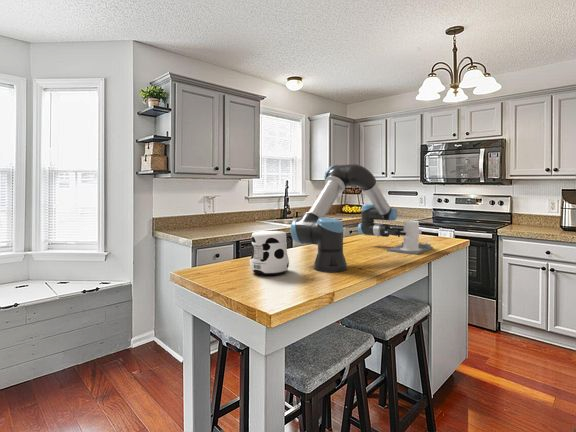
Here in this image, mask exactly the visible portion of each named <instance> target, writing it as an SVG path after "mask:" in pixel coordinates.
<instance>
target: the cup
mask: <svg viewBox="0 0 576 432" xmlns="http://www.w3.org/2000/svg"><path fill="white" fill-rule="evenodd" d="M403 228H404V231H409V232H412V237H409V236H403V249H406V250H418V245H419V242H420V241H419V235H420V234H419V229H420V221H418V220H403Z"/></svg>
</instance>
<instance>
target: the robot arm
mask: <svg viewBox="0 0 576 432" xmlns="http://www.w3.org/2000/svg"><path fill="white" fill-rule="evenodd" d="M324 183H325V185H324V186H323V188H322V190H321V192H319V195H318V196H317V198H316V199H315V200H314V202H313V203H312V205H311V207H310V208H309V210H308V211H307V212H304V213H303V214H302V215H301V217H300V218H296V219H293V221H292V222H291V224H290V235H291V239H293V241H294V242H295V243H299V244H307V245H316V246H317V254H316V257H315V260H314V263H313V265H314V266H313V269H314V270H315V271H318V272H323V273H340V272H344V271H346V270H347V269H348V263H347V261H346V257H345V254H344V223H343V222H342V221H341V220H340V219H337V218H333V217H327V215H328V213H329V211H330V209H331V208H332V206H333V205H334V203H335V201H336V200H337V198H338V196H339V194H341V193H342V192H343V193H344V191H345V190H346V188H347V187H358V188H359V189H360V190H361V191H363V192H364V194H365V195H366V196H367V198H368V200H369V201H370V202H371V203H365V204H362V205H361V211H360V212H361V222H359V224H358V225H357V232H358V234H360V235H364V236H374V237H376V238H379V237H385V238H387V237H389V236H395V237H398V238H401V237H404V236H409V237H412V232H409V231H404V227H391V226H390V225H389V224H387V223H385V224H384V223H375V221H396V220H397V218H398V216H399V215H398V209H397V208H395V207H391V206H390V205H389V203H388V202H387V199H386V198H385V197H384V195H383V193H382V191H381V189H380V188H379V186H378V184H377V179H376V177H375V175H374V174H373V173H372V172H371V171H370V170H369V169H367V168H366V167H365V166H362V165H360V164H358V163H352V164H335V165H331V166H328V167H327V169H326V170H325V172H324ZM419 235H422V229H421V228H419Z"/></svg>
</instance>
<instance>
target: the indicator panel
mask: <svg viewBox="0 0 576 432" xmlns="http://www.w3.org/2000/svg"><path fill="white" fill-rule="evenodd" d="M433 249H434V246H432V245H431V243H428V242H424V243H422V242H420V241H419V245H418V250H406V249H403V242H401V244H399V245H396V246H393V247H390V248H387V249H386V252H390V253H391V252H392V253H400V254H407V255H415V256H416V255H417V256H419V255H420V254H423V253H425V252H428V251H430V250H433Z"/></svg>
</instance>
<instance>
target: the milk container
mask: <svg viewBox="0 0 576 432" xmlns="http://www.w3.org/2000/svg"><path fill="white" fill-rule="evenodd" d="M287 243H288V242H287V232H286V231H282V230H280V231H279V230H260V231H254V232H252V234H251V256H250V260H249V264H250V266H249V267H250V270H251V272H253V273H254V274H257V275H261V276H262V275H263V276H271V275H272V276H276V275H280V274H283V273H285V272H287V271H288V269H289V266H290V259H289V255H288V250H287V249H288V248H287Z"/></svg>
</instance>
